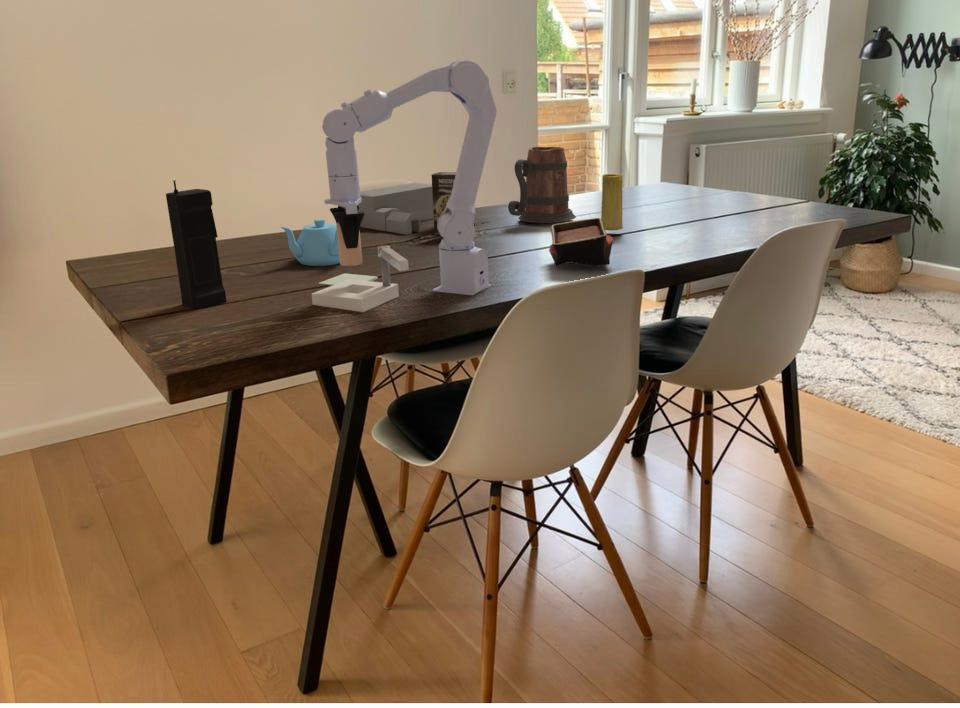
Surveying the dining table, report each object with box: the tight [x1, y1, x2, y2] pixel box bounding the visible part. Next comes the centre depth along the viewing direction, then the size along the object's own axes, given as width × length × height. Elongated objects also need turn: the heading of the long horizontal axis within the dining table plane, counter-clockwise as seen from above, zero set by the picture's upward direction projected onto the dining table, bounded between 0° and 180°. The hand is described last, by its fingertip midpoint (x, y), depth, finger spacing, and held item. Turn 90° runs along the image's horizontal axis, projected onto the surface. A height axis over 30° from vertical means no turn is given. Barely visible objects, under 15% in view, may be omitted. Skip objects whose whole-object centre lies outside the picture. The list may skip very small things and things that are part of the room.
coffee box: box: [431, 171, 457, 235], centre depth 220 cm, size 9×6×16 cm
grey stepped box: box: [358, 182, 434, 242], centre depth 230 cm, size 25×23×11 cm
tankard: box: [507, 146, 576, 224], centre depth 235 cm, size 24×17×20 cm
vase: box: [600, 173, 624, 231], centre depth 218 cm, size 6×6×14 cm
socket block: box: [311, 257, 400, 313], centre depth 159 cm, size 12×12×8 cm
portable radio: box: [165, 179, 227, 310], centre depth 156 cm, size 8×6×25 cm
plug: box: [335, 222, 363, 267], centre depth 160 cm, size 4×4×8 cm
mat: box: [318, 272, 379, 287], centre depth 175 cm, size 9×9×1 cm
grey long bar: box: [377, 245, 410, 272], centre depth 153 cm, size 15×2×2 cm, turn 21°
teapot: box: [280, 218, 340, 267], centre depth 193 cm, size 15×15×10 cm
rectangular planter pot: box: [548, 217, 614, 267], centre depth 184 cm, size 14×18×10 cm
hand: (349, 245), depth 160 cm, fingers closed on plug, 4 cm apart
